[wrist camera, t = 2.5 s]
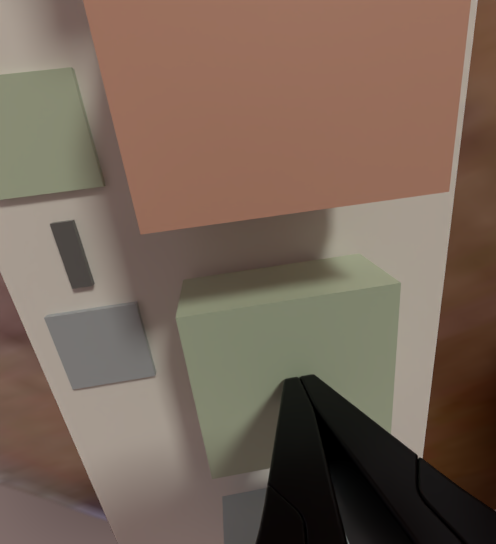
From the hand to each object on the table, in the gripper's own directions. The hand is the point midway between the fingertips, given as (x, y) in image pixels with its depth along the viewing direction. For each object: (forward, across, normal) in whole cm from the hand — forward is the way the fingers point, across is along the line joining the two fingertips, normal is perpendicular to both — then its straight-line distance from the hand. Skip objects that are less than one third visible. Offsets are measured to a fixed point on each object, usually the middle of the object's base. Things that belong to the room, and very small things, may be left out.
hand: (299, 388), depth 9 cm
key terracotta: (+1, 0, -8) cm, 8 cm away
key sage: (+2, 0, 0) cm, 2 cm away
